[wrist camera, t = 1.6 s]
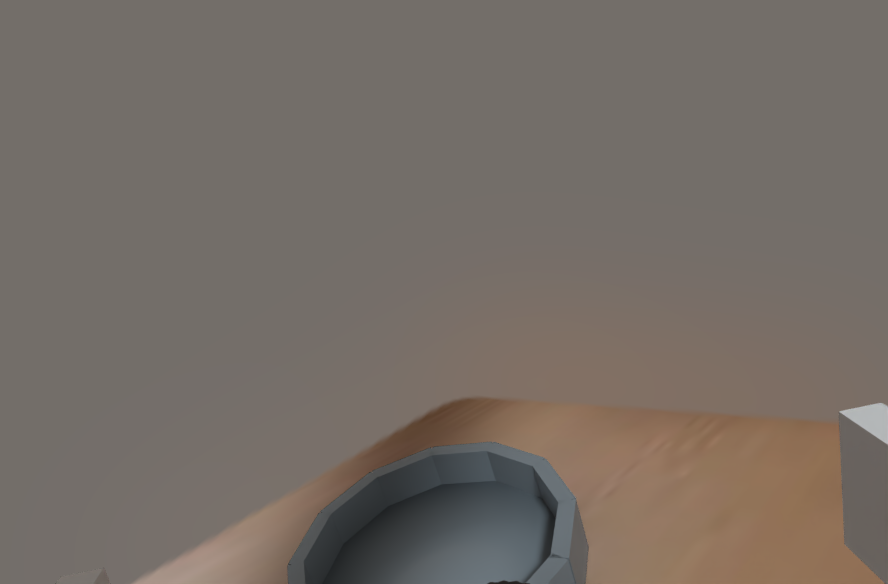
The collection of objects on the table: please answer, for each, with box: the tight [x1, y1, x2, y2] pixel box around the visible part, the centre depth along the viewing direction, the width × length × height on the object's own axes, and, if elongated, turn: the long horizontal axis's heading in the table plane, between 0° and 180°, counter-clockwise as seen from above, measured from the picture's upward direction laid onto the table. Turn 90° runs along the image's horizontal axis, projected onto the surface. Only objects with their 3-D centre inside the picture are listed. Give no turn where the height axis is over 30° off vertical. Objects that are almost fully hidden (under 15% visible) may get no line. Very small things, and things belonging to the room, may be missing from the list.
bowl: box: [288, 442, 589, 584], centre depth 40 cm, size 17×17×4 cm
